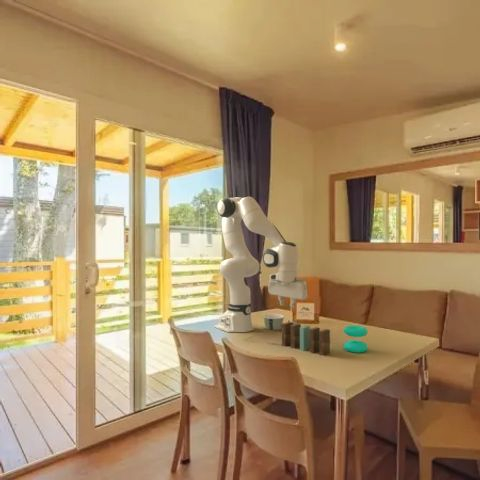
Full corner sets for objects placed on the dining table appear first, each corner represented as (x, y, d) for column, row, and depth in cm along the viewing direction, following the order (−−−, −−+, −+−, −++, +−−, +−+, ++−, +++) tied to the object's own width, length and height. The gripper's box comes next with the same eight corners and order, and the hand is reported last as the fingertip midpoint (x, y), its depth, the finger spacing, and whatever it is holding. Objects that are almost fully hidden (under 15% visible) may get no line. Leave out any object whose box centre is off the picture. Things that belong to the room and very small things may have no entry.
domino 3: (299, 349, 163) (299, 327, 163) (306, 347, 167) (306, 325, 167) (303, 350, 162) (303, 327, 162) (310, 348, 165) (309, 325, 165)
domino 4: (309, 352, 160) (309, 329, 160) (315, 349, 163) (315, 327, 163) (313, 353, 158) (313, 329, 158) (319, 350, 162) (319, 327, 162)
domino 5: (319, 354, 156) (319, 331, 156) (325, 352, 160) (325, 328, 160) (323, 355, 155) (323, 331, 155) (329, 352, 158) (329, 329, 158)
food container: (284, 330, 197) (284, 318, 197) (261, 330, 199) (261, 318, 199) (285, 325, 209) (284, 314, 209) (263, 325, 210) (263, 313, 210)
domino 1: (281, 345, 170) (281, 323, 170) (288, 343, 174) (288, 321, 174) (285, 346, 169) (285, 324, 169) (292, 343, 172) (291, 322, 172)
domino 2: (290, 347, 167) (290, 325, 166) (297, 345, 170) (297, 323, 170) (294, 348, 165) (294, 326, 165) (300, 346, 169) (300, 324, 169)
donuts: (362, 331, 155) (339, 327, 162) (362, 355, 155) (340, 350, 162) (370, 326, 163) (349, 323, 169) (371, 349, 163) (349, 345, 169)
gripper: (310, 278, 166) (309, 309, 166) (274, 274, 180) (274, 302, 181) (302, 280, 161) (301, 311, 162) (266, 275, 176) (265, 304, 176)
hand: (286, 306), depth 171 cm, fingers open, 4 cm apart
